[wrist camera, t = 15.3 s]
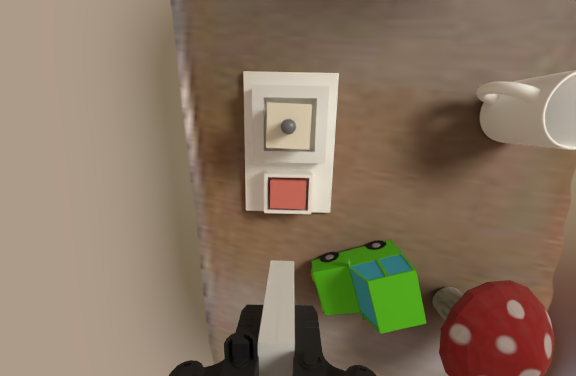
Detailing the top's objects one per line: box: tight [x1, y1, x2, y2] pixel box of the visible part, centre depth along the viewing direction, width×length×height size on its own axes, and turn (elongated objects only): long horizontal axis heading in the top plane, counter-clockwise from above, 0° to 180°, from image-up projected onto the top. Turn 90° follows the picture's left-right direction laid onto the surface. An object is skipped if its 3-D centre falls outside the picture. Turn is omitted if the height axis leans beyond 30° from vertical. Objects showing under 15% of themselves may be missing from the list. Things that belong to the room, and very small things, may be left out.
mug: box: [476, 70, 576, 150], centre depth 33 cm, size 12×8×10 cm
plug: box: [266, 102, 312, 150], centre depth 33 cm, size 5×5×10 cm
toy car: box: [311, 240, 426, 334], centre depth 39 cm, size 10×13×10 cm
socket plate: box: [243, 71, 339, 214], centre depth 38 cm, size 20×13×3 cm, turn 179°
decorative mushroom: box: [432, 280, 554, 376], centre depth 38 cm, size 16×16×15 cm
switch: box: [270, 178, 306, 209], centre depth 38 cm, size 4×5×2 cm
